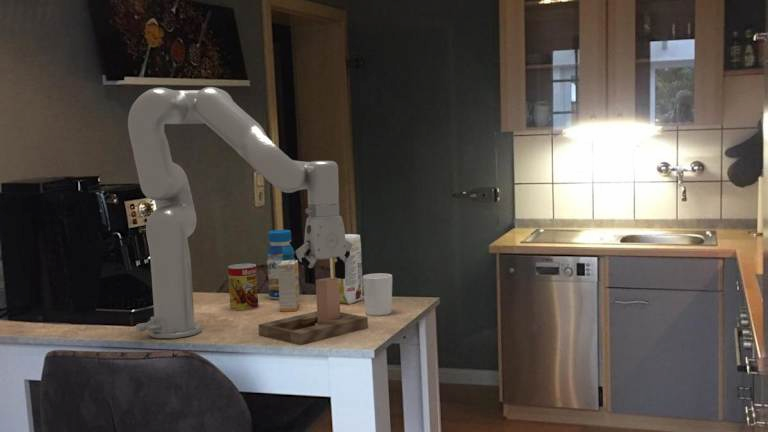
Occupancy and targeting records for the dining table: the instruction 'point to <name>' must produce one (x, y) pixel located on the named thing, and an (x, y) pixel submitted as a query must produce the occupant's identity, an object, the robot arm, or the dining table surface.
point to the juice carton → (350, 273)
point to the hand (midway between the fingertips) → (325, 280)
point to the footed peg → (327, 299)
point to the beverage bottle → (277, 257)
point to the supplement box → (288, 285)
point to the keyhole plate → (311, 327)
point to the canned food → (243, 286)
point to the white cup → (377, 293)
